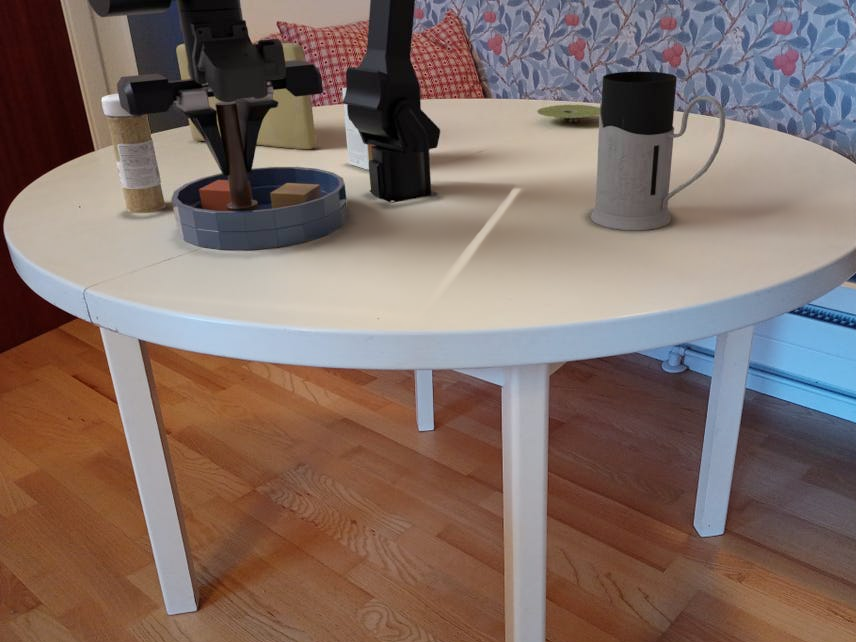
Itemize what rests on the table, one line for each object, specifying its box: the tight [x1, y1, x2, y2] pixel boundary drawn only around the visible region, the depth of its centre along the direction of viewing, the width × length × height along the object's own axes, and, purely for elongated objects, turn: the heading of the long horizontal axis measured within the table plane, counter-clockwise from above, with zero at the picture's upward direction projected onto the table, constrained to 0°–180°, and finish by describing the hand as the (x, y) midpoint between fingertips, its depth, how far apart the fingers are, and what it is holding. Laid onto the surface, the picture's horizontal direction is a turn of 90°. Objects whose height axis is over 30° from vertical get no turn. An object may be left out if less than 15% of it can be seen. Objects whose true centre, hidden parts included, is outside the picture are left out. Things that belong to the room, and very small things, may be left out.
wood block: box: [270, 183, 321, 209], centre depth 89 cm, size 4×4×4 cm
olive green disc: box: [536, 104, 600, 124], centre depth 138 cm, size 11×11×2 cm
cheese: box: [176, 42, 317, 150], centre depth 127 cm, size 22×10×15 cm, turn 59°
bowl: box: [170, 166, 349, 251], centre depth 90 cm, size 18×18×4 cm
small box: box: [341, 87, 375, 171], centre depth 114 cm, size 8×6×10 cm
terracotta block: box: [199, 180, 253, 211], centre depth 91 cm, size 4×4×4 cm
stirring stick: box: [215, 102, 259, 211], centre depth 84 cm, size 3×3×11 cm
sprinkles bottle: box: [101, 93, 167, 214], centre depth 95 cm, size 5×5×14 cm
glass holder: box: [590, 70, 726, 231], centre depth 86 cm, size 9×14×15 cm, turn 49°
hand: (236, 173), depth 84 cm, fingers closed on stirring stick, 2 cm apart
